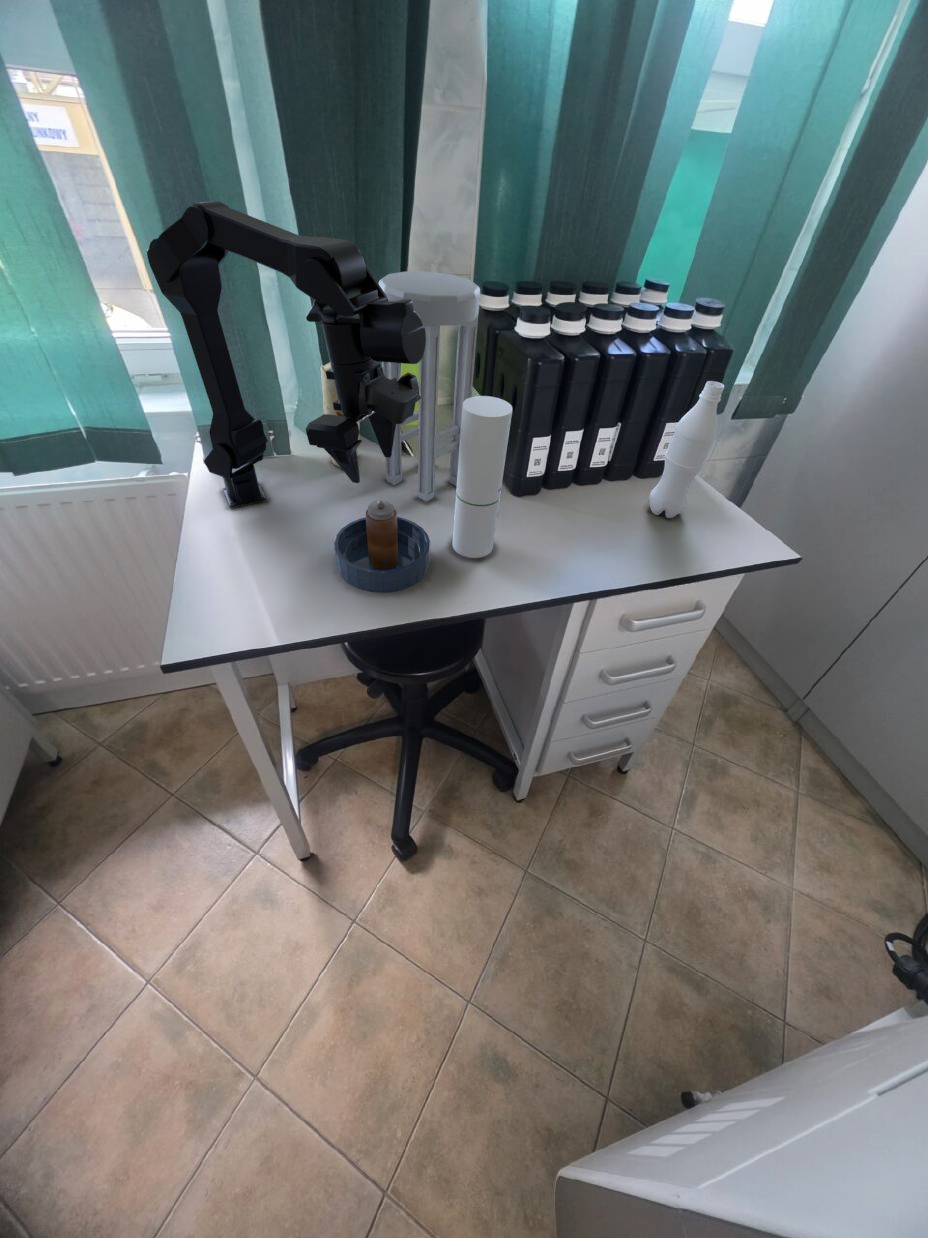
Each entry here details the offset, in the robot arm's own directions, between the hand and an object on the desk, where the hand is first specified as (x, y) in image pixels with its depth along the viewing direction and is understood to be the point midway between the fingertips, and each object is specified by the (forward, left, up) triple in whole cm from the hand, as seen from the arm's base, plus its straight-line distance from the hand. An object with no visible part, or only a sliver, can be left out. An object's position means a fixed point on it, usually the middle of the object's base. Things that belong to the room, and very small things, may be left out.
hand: (372, 469), depth 78 cm
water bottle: (+12, +57, -15) cm, 60 cm away
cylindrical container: (+7, +15, -15) cm, 22 cm away
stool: (-16, +17, -15) cm, 27 cm away
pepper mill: (+5, -1, -14) cm, 15 cm away
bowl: (+5, -1, -14) cm, 15 cm away
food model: (-30, +5, -15) cm, 34 cm away
